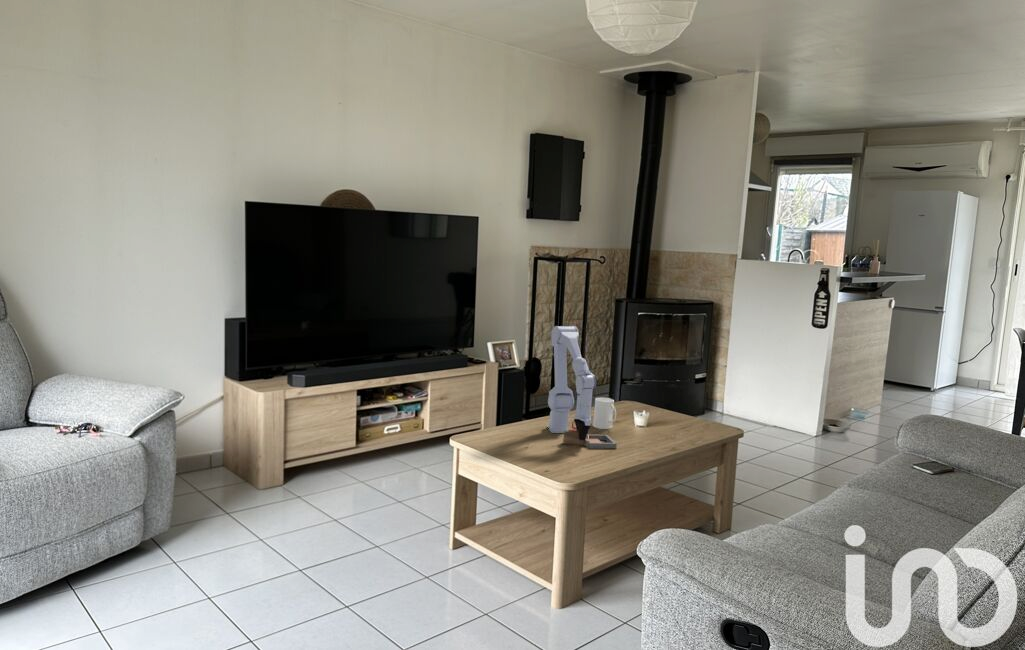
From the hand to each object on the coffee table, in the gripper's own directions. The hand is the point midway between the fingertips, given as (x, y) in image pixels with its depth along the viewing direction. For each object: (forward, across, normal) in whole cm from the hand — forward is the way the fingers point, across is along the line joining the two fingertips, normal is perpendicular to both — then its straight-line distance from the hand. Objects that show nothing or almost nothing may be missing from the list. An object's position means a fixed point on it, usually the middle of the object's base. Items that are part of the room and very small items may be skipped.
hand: (581, 438), depth 281 cm
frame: (+2, 0, +7) cm, 7 cm away
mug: (+2, -24, +18) cm, 30 cm away
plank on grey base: (+2, 0, -3) cm, 4 cm away
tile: (+3, 0, +5) cm, 6 cm away
